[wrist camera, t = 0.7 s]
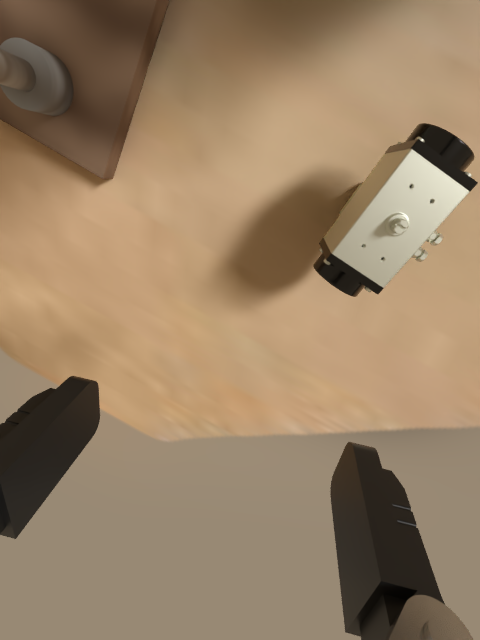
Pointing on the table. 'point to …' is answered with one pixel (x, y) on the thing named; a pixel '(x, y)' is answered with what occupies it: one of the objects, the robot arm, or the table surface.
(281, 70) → the table surface
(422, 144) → the pneumatic valve
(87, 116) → the board
